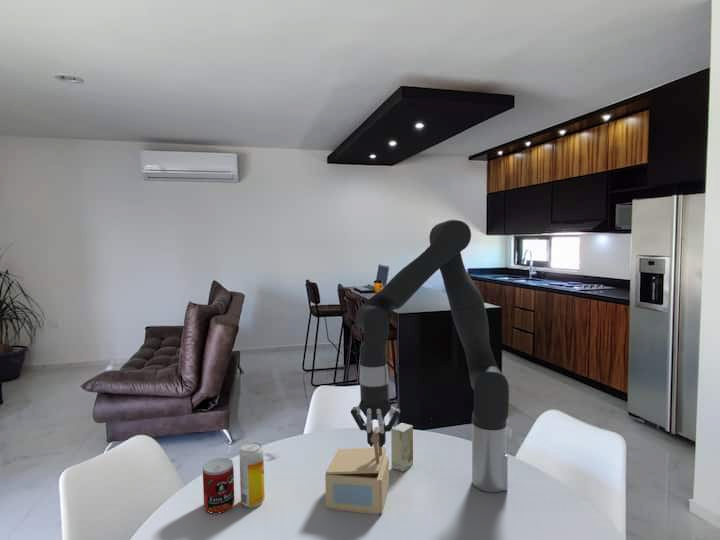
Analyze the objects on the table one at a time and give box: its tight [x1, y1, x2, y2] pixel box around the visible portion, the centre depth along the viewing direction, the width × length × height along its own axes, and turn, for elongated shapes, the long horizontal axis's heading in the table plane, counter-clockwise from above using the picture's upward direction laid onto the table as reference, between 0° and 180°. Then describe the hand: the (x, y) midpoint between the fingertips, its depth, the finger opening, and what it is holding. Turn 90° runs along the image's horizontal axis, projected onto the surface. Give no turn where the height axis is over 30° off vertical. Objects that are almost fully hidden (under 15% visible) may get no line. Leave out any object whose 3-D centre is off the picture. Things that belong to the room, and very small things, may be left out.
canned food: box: [202, 457, 235, 513], centre depth 114 cm, size 8×8×11 cm
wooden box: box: [324, 454, 390, 516], centre depth 117 cm, size 15×13×9 cm
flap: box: [325, 426, 387, 475], centre depth 116 cm, size 14×13×8 cm
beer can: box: [239, 442, 265, 509], centre depth 115 cm, size 6×6×15 cm
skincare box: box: [390, 422, 414, 472], centre depth 133 cm, size 6×4×12 cm
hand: (376, 445), depth 115 cm, fingers closed on flap, 2 cm apart
